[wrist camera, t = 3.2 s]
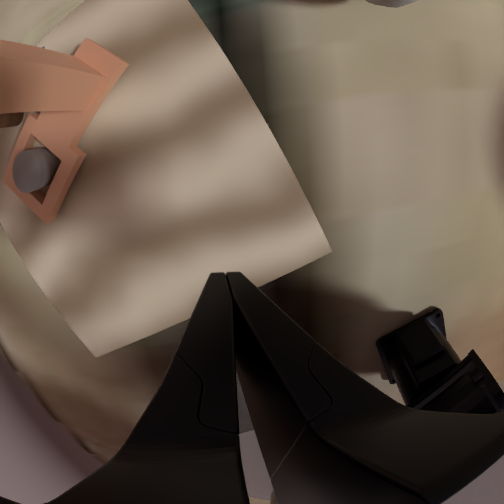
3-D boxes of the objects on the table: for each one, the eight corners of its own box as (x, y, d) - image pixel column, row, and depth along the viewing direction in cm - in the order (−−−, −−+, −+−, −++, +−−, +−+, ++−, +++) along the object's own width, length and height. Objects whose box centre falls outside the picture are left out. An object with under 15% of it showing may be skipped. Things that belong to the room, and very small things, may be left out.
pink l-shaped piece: (54, 220, 18) (-61, 299, 8) (10, 177, 17) (-104, 228, 6) (140, 71, 14) (1, 27, 4) (84, 35, 13) (-47, -3, 3)
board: (328, 244, 20) (343, 272, 16) (101, 349, 25) (83, 379, 21) (157, -39, 12) (138, -66, 8) (-27, 140, 17) (-58, 147, 13)
